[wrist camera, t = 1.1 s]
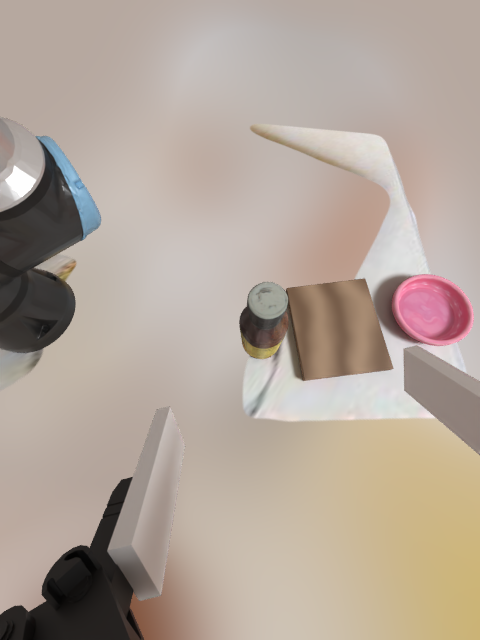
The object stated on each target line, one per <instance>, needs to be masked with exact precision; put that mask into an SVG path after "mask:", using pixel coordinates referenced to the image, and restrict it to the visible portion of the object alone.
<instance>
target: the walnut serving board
mask: <svg viewBox="0 0 480 640" xmlns="http://www.w3.org/2000/svg"><path fill="white" fill-rule="evenodd" d="M286 294H287V296H288V306H289V311H290V316H291V321H292V326H293V331H294V336H295V342H296V347H297V352H298V357H299V362H300V367H301V372H302V377H303V381H306V380H314V379H322V378H330V377H338V376H346V375H354V374H362V373H369V372H377V371H385V370H391V369H393V366H392V363H391V359H390V356H389V353H388V350H387V347H386V343H385V340H384V337H383V334H382V331H381V328H380V324H379V321H378V318H377V315H376V312H375V308H374V305H373V302H372V299H371V296H370V293H369V289H368V286H367V283H366V280H365V279H358V280H349V281H341V282H333V283H325V284H317V285H308V286H301V287H292V288H287V289H286Z"/></svg>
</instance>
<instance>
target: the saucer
mask: <svg viewBox="0 0 480 640" xmlns="http://www.w3.org/2000/svg"><path fill="white" fill-rule="evenodd" d="M392 311H393V315H394V317H395V320H396V321H397V323H398V325H399V326H400V327H401V329H402V330H403V331H404V332H405V333H406V334H408V335H409V336H410V337H412V338H414V339H415V340H417V341H419V342H422V343H425V344H428V345H434V346H444V345H449V344H453V343H456V342H458V341H460V340H462V339H463V338H464V337H465V336H466V335H467V334H468V333H469V332H470V330H471V328H472V325H473V321H474V320H473V319H474V314H473V308H472V305H471V303H470V301H469V299H468V297H467V296H466V295H465V293H464V292H463V291H462V290H461V289H460V288H459V287H458V286H457V285H455V284H454V283H452V282H451V281H449V280H447V279H445V278H442V277H439V276H435V275H429V274H422V275H416V276H413V277H410V278H408V279H406V280H405V281H403V282H402V283H401V284H400V285H399V286H398V287H397V289H396V290H395V292H394V294H393V297H392Z"/></svg>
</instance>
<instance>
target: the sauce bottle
mask: <svg viewBox="0 0 480 640" xmlns="http://www.w3.org/2000/svg"><path fill="white" fill-rule="evenodd" d="M287 306H288V296H287V294H286V292H285V290H284V289H283V288H282V287H281V286H279V285H278V284H275V283H273V282H264V283H260V284H258V285H256V286H255V287H254V288H253V289H252V290H251V291H250V293H249V295H248V300H247V307H246V308H245V309H244V310H243V312H242V313H241V316H240V323H239V324H240V331H241V338H242V344H243V347H244V349H245V351H246V352H247V353H248V354H249V355H250V356H252V357H254V358H258V359H265V358H269V357H271V356H272V355H273V354H274V353H275V352H276V351H277V350H278V348H279V346H280V344H281V342H282V340H283V339H284V337H285V333H286V331H287V329H288V315H287V312H286V309H287Z"/></svg>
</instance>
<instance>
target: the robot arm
mask: <svg viewBox="0 0 480 640" xmlns="http://www.w3.org/2000/svg"><path fill="white" fill-rule="evenodd" d="M100 223H101V216H100V213H99V210H98V208H97V206H96V204H95V202H94V201H93V199H92V197H91V195H90V193H89V192H88V190H87V188H86V187H85V186H84V184H83V183H82V181H81V179H80V178H79V176H78V174H77V172H76V171H75V169H74V168H73V166H72V165H71V163H70V161H69V160H68V159H67V157H66V156H65V154H64V153H63V152H62V150H61V149H60V148H59V146H58V145H57V144H56V143H55V142H54V140H53V139H51V138H50V137H48V136H42V137H40V136H36V137H35V136H34V135H33V134H32V132H30V131H29V130H28V129H27V128H26V127H24V126H23V125H21V124H19V123H17V122H15V121H13V120H10V119H7V118H3V117H0V348H1V349H4V350H8V351H12V352H17V353H28V352H33V351H37V350H40V349H42V348H44V347H46V346H48V345H50V344H51V343H53V342H54V341H55V340H57V339H58V338H59V337H60V336H61V335H62V334H63V333H64V331H65V330H66V329H67V327H68V326H69V324H70V322H71V320H72V318H73V315H74V312H75V296H74V293H73V291H72V289H71V287H70V286H69V285H68V284H67V283H66V282H65V281H64V280H62V279H61V278H59V277H58V276H56V275H55V274H53V273H50V272H48V271H44V270H40V269H36V268H34V267H35V266H37V265H39V264H41V263H42V262H44V261H46V260H48V259H49V258H51V257H53V256H55V255H56V254H58V253H60V252H61V251H63V250H65V249H67V248H69V247H70V246H72V245H74V244H76V243H77V242H79V241H82V240H84V239H85V238H86V236H87V235H88V234H90V233H92V232H93V231H94V230H96V229H97V228H98V227H99V226H100ZM404 391H406V392H407V393H408V394H409V395H410V396H411V397H413V398H414V399H415V400H416V401H417V402H418V403H420V404H421V405H422V406H423V407H424V408H425V409H427V410H428V411H429V412H430V413H431V414H432V415H434V416H435V417H436V418H437V419H438V420H439V421H440V422H442V423H443V424H444V425H445V426H446V427H448V428H449V429H450V430H451V431H452V432H453V433H455V434H456V435H457V436H458V437H459V438H461V439H462V440H463V441H464V442H465V443H466V444H467V445H468V446H470V447H471V448H472V449H473V450H474V451H476V452H477V453H478V454H479V455H480V381H478V380H476V379H475V378H473V377H471V376H469V375H468V374H466V373H464V372H463V371H461V370H459V369H457V368H456V367H454V366H452V365H450V364H449V363H447V362H445V361H443V360H442V359H440V358H438V357H436V356H435V355H433V354H431V353H429V352H428V351H426V350H424V349H423V348H421V347H419V346H413V347H409V348H405V349H404ZM184 448H185V443H184V440H183V438H182V435H181V433H180V430H179V428H178V425H177V423H176V420H175V418H174V415H173V412H172V410H171V407H170V406H169V407H165V408H161V409H157V410H156V413H155V415H154V418H153V421H152V424H151V427H150V430H149V433H148V435H147V438H146V441H145V444H144V447H143V450H142V453H141V456H140V458H139V461H138V464H137V467H136V470H135V473H134V475H133V477H131V478H127V479H123V480H121V481H120V483H119V484H118V485H117V487H116V488H115V489H114V491H113V492H112V495H111V497H110V500H109V502H108V504H107V508H106V509H105V511H104V514H103V519H101V521H100V524H99V526H98V529H97V531H96V534H95V536H94V538H93V541H92V543H91V546H90V548H89V547H87V546H82V545H80V546H77V547H75V548H72V549H71V550H69V551H68V552H66V553H65V554H63V555H62V556H61V557H60V559H59V560H58V561H57V562H56V563H55V564H54V565H53V567H52V568H51V569H50V571H49V573H48V574H47V576H46V578H45V580H44V583H43V586H42V596H43V597H44V598H45V599H46V600H47V601H46V602H44V603H43V604H41V605H39V606H38V607H36V608H34V609H33V610H31V611H29V612H28V611H27V610H26V609H25V608H24V607H23V606H14V607H12V608H10V609H8V610H6V611H4V612H3V613H2V614H1V615H0V640H144V638H143V636H142V634H141V631H140V629H139V627H138V624H137V622H136V619H135V617H134V615H133V612H132V610H131V609H130V603H131V599H132V595H133V592H134V594H135V595H136V597H137V598H138V600H139V601H141V600H145V599H149V598H154V597H158V596H161V593H162V587H163V580H164V574H165V567H166V561H167V555H168V548H169V542H170V536H171V530H172V523H173V517H174V511H175V505H176V499H177V492H178V486H179V479H180V473H181V467H182V461H183V455H184Z"/></svg>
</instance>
